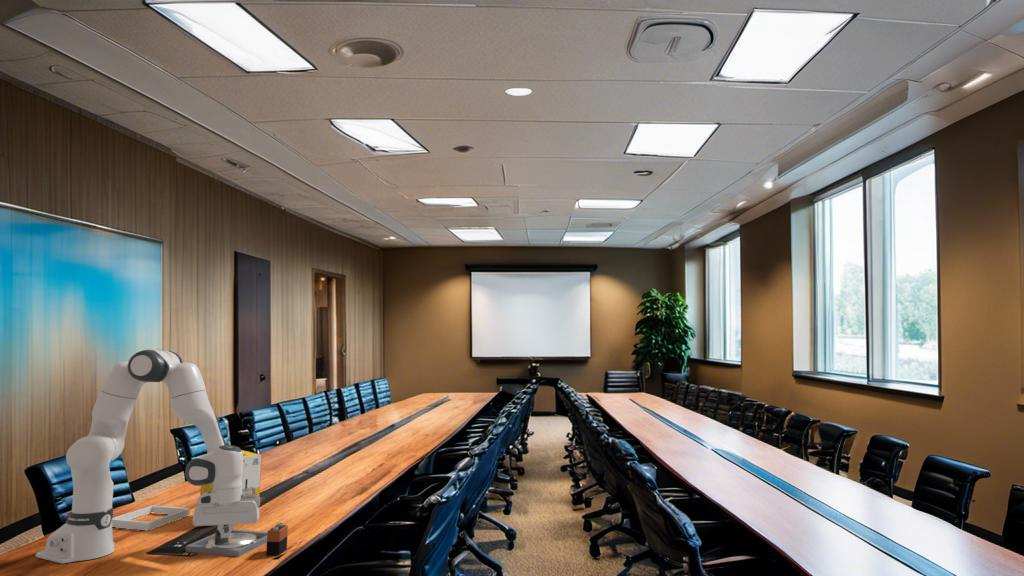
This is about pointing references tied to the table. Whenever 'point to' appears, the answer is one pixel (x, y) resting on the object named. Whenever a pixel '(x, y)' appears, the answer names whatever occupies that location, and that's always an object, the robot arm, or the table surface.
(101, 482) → the robot arm
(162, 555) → the table surface
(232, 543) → the dial
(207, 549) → the panel
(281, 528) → the battery
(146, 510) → the light grey rectangular frame
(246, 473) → the packaging box
